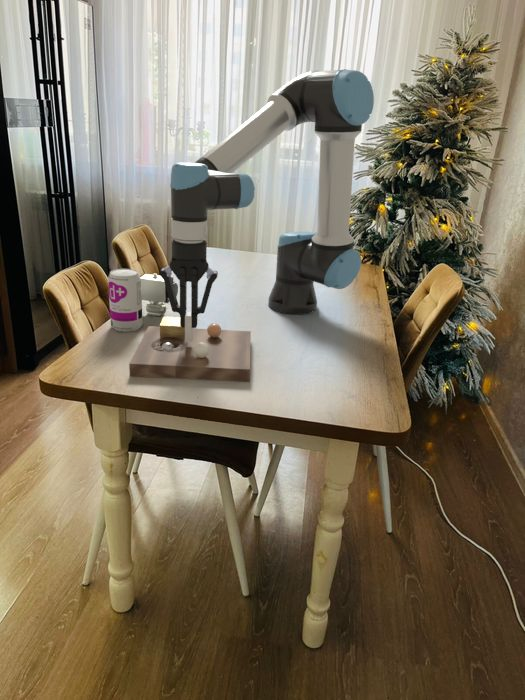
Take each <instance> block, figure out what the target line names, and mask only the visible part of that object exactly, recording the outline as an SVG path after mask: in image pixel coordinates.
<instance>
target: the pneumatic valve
mask: <svg viewBox="0 0 525 700" xmlns="http://www.w3.org/2000/svg"><path fill="white" fill-rule="evenodd" d="M140 277H141V292H142V301H149V303H147V304H146V306H145V309H146V312H147V315H148V316H151V317H152V316H153V317H158V318H159V317H162V315H165V314H166V312H167V306H166V305H165V304H170V301H169V297H168V293H167V289H166V286H165V282H164V280H163V278H162V277H161V276H160V275H158V274H157V273H153V274H149V273H148V274H147V273H143V274H141V275H140ZM171 278H172V282H173V286H174V290H175V294H176V298H178V297H177V296H178V293H179V286H178V285H179V284H178V283H176V282H175V280H174V276H171Z"/></svg>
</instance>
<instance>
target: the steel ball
mask: <svg viewBox="0 0 525 700" xmlns="http://www.w3.org/2000/svg"><path fill="white" fill-rule="evenodd" d="M161 347H162V348H165V349H173V348H175V347H174V345H173V344H172V343H170V342H166V343H163V344H162V345H161Z"/></svg>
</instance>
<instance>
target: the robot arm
mask: <svg viewBox="0 0 525 700" xmlns="http://www.w3.org/2000/svg"><path fill="white" fill-rule="evenodd" d="M374 102H375V97H374V89H373V86H372V83H371V82H370V80H369V79H368V77H367V75H366V74H364V73H363V72H361V71H359V70H355V69H352V70H351V69H346V68H345V69H336V70H335V69H333V70H332V69H331V70H311V71H308V72H304V73H302V74H300V75H298V76H296V77H295V78H293V79H291V80H290V81H288V82H287V83H286V84H284V85H283V86H281V87H280V88H279V89H277V90H276V91H275V92H274V93H272V94H271V95H270V96H269V97H268V98H267V102H266V104H265V105H264V106H263V107H262V108H261V109H260V110H258V111H257V112H256V113H255V114H253V115H252V116H250V118H248V119H247V120H246V121H244V122H243V123H242V124H241V125H239V126H238V127H237V128H235V130H234V131H232V132H231V133H229V134H228V135H227V136H226V137H225V138H223V139H222V140H221V141H219V142H218V143H217V144H216V145H215V146H213V147H212V148H211V149H210V150H208V151H207V152H206V153H205V154H203V155H202V156H201V157H200V158H199V159H197V160H196V161H194V162H176V163H174V164H172V166H171V171H170V172H171V173H170V185H169V187H170V206H171V207H170V209H171V210H170V211H171V219H170V220H171V221H170V222H171V223H170V224H171V225H170V227H171V228H170V229H171V230H170V231H171V232H170V233H171V238H172V240H171V260H170V262H169V265H167V266H166V267H161V270H160V271H159V276H161V277H162V278H163V280H164V282H165V286H166V289H167V293H168V297H169V301H170V302H169V304H170V308H171V310H172V312H173V313H178V314H179V317H180V326H181V327H182V328H185V342H192V338H193V328H195V329H197V326H198V315H200V314H204V313H205V311H206V308H207V305H208V302H209V297H210V295H211V290H212V287H213V283H214V282H215V281H216V279H218V275H219V273H218V271H217V270H214V269H212V268H210V266H209V263H208V261H207V251H208V250H207V246H208V243H207V241H206V239H207V238H208V237H207V236H208V234H207V232H208V211H212V210H226V209H227V210H230V209H231V210H232V209H235V210H238V209H243V208H246V207H249V206H250V205H251V204H252V203H253V201H254V199H255V190H256V188H255V182H254V181H253V179H252V178H251V176H250V175H249V174H248V173H247V174H246V173H244V172H243V173H241V172H237V171H238V170H239V169H240V168H241V167H242V166H243V165H245V164H246V163H247V162H248V161H249V160H251V159H252V158H253V157H255V156H256V155H257V154H258V153H259V152H260V151H262V150H263V149H265V147H266V146H268V145H269V144H270V143H271V142H273V141H274V140H275V139H276V138H277V137H279V136H280V135H281V134H282V133H283V132H285V131H287V132H288V131H291V130H293V129H294V128H296V127H297V126H298V125H301V124H305V123H314V133H315V134H316V135H317V137H318V138H319V139H320V140H319V141H320V142H319V143H320V146H319V168H318V170H319V171H318V175H319V176H318V202H317V204H318V205H317V206H318V207H317V230H316V231H317V232H314V231H288V232H284V233H282V234H280V236H279V238H278V245H277V253H276V254H277V255H276V270H275V271H276V272H275V282H274V284H273V287H272V289H271V291H270V293H269V296H268V307H269V308H270V309H272V310H274V311H276V312H279V313H283V314H288V315H289V314H290V315H305V314H311V313H314V312H315V311H316V310H317V309H318V307H317V305H318V300H317V295H316V291H315V290H316V289H315V285H314V283H316V284H320V285H323V286H325V287H326V288H332V289H337V290H343V289H344V288H347V287H349V286H350V285H351V284H352V283H354V280H355V279H357V276H358V274H359V272H360V270H361V267H362V256H361V254H360V252H359V251H358V250H357V249H355V248H354V243H355V239H354V237H353V236H352V235H351V234H350V232H349V231H350V221H351V220H350V219H351V216H350V215H351V206H352V205H351V203H352V202H351V201H352V191H353V190H352V188H353V187H352V186H353V175H354V174H353V172H354V156H355V142H356V141H355V140H356V139H357V137H358V136H359V135H360V134H361V133H362V127H363V124H366V123H367V121H368V120H369V119H370V117H371V115H372V113H373V109H374V104H375V103H374ZM370 114H371V115H370ZM172 274H174V275H175V277H176V279H178V281H179V302H178V297H176V294H175V290H174V286H173V282H172V278H171V277H172ZM205 274H206V279H207V282H206V285H205V289H204V292H203V297H202V298H201V303H200V306H199V281H200V280H201V279H202V277H203V276H204V275H205ZM187 282H189V283H191V284H190V287H191V290H190V292H191V294H190V295H191V296H190V297H191V301H190V303H191V305H190V306H191V308H190V309H191V311H187V309H188V307H187V299H188V298H187V297H188V296H187V289H188V288H187V287H188V286H187Z"/></svg>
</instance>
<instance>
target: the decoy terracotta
mask: <svg viewBox="0 0 525 700" xmlns="http://www.w3.org/2000/svg"><path fill="white" fill-rule="evenodd" d="M206 329H207V333H208V335H209V336H210V337H213V338H216V337H218V336H219V335H220V334H221V330H222V328H221V325H219V324H218V323H210V324H209V325H208V326H207V328H206Z"/></svg>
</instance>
